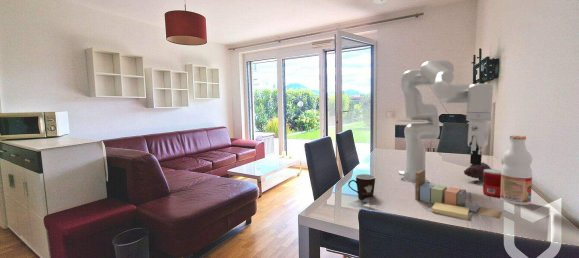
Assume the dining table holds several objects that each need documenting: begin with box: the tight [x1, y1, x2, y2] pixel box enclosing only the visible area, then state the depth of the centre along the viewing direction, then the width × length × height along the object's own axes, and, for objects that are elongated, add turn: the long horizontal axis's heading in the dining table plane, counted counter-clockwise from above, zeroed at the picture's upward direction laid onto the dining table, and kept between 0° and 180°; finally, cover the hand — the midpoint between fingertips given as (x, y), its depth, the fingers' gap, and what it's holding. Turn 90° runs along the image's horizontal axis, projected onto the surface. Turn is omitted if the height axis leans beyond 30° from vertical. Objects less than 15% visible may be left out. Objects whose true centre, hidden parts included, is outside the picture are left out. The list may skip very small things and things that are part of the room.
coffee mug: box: [347, 173, 376, 201], centre depth 118 cm, size 12×9×10 cm
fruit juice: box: [499, 135, 533, 206], centre depth 105 cm, size 9×9×28 cm
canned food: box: [482, 168, 502, 198], centre depth 117 cm, size 8×8×11 cm
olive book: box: [430, 184, 448, 204], centre depth 107 cm, size 4×6×6 cm, turn 134°
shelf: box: [414, 169, 503, 219], centre depth 102 cm, size 28×8×13 cm, turn 44°
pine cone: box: [463, 161, 492, 182], centre depth 138 cm, size 18×10×10 cm, turn 89°
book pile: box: [426, 202, 474, 221], centre depth 97 cm, size 13×9×3 cm
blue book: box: [420, 182, 436, 203], centre depth 110 cm, size 4×6×6 cm, turn 134°
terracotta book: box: [445, 186, 462, 206], centre depth 103 cm, size 4×6×6 cm, turn 134°
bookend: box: [457, 188, 481, 214], centre depth 99 cm, size 6×7×6 cm
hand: (475, 164), depth 100 cm, fingers closed
